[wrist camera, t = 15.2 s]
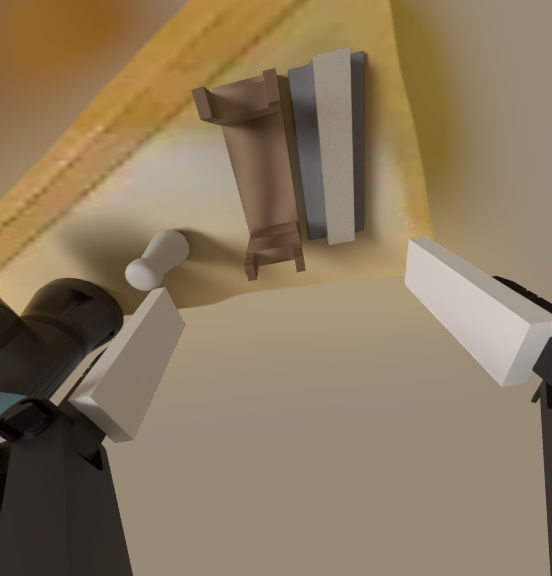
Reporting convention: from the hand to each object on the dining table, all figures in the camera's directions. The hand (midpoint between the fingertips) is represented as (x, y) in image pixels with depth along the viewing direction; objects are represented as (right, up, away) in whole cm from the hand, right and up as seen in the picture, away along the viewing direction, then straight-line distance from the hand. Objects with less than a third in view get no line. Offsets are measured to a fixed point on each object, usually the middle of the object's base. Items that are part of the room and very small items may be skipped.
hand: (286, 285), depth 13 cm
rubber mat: (+7, +18, +22) cm, 29 cm away
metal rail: (+7, +18, +21) cm, 29 cm away
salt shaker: (-18, +8, +28) cm, 34 cm away
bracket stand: (-2, +16, +23) cm, 28 cm away
